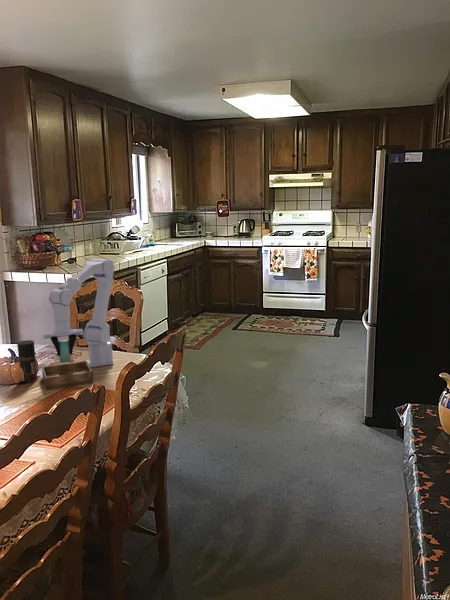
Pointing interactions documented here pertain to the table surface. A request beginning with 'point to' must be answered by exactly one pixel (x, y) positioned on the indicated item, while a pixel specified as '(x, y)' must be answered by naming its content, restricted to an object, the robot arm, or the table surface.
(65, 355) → the peg
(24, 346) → the deodorant
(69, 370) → the box
